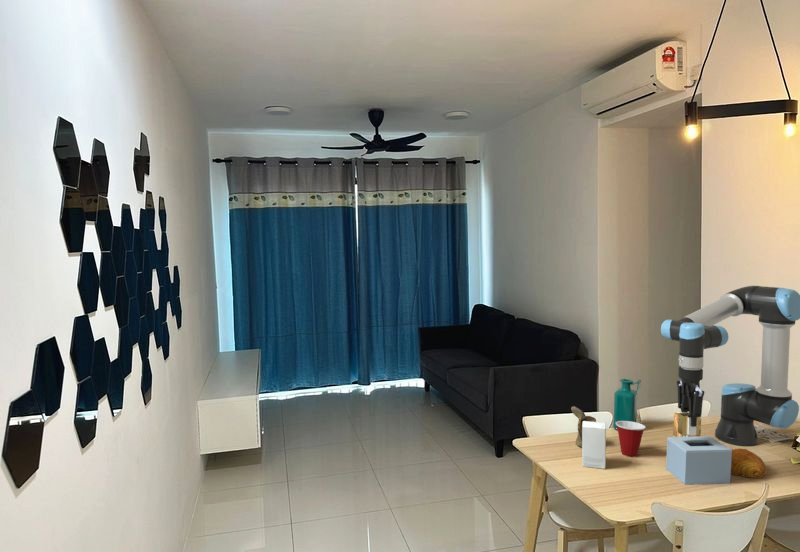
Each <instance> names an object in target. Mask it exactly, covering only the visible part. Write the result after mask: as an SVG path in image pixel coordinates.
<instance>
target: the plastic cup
mask: <svg viewBox="0 0 800 552" xmlns="http://www.w3.org/2000/svg"><path fill="white" fill-rule="evenodd" d="M616 425H617V429H618V430H617V432H618V433H617V434H618V441H619V445H620V452H621V454H622V455H623V456H626V457H630V458H635V457H637V456H638V454H639V449H640V446H641V441H642V437H643V434H644V431H645V430H646V425H644V424H642V423H640V422H637V421H636V422H630V421H617V422H616Z"/></svg>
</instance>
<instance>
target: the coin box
mask: <svg viewBox="0 0 800 552" xmlns="http://www.w3.org/2000/svg"><path fill="white" fill-rule="evenodd" d="M666 440H667V441H666V460H665V464H666V466H665V470H666V471H668V472H669V473H670V474H671V475H672V476H674V477H675V478H676V479H677V480H679V481H680V482H681V483H682V484H684V485H715V484H716V485H717V484H719V485H720V484H721V485H722V484H723V485H724V484H731V477H732V476H731V475H732V473H731V458H732V448H730V447H728V446H727V445H725V444H724V443H722V442H720V440H718V439H717V438H716V439H715V438H714V437H712V436H711V435H709V436H708V435H706V436H705V435H704V436H700V437H673V436H668V437H667V438H666Z"/></svg>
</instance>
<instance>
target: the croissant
mask: <svg viewBox="0 0 800 552" xmlns="http://www.w3.org/2000/svg"><path fill="white" fill-rule="evenodd" d="M731 449H732V448H731ZM766 473H767V466H766V464H765V462H764V460H763V459H762V458H761V457H760V456H759V455H757V454H756V453H755V452H753V451H751V450H748V449H746V448H734V449H732V458H731V475H734V476H739V477H740V476H741V477H742V476H743V477H745V478H747V477H748V478H756V479H760V478H762V477H764V475H766Z"/></svg>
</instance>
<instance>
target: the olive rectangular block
mask: <svg viewBox="0 0 800 552" xmlns="http://www.w3.org/2000/svg"><path fill="white" fill-rule="evenodd" d="M687 415H689V413H678V433H680V434H681V435H688V434H687V427H688V416H687ZM700 418H701V417H697V425H696V435H699V425H700Z"/></svg>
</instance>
